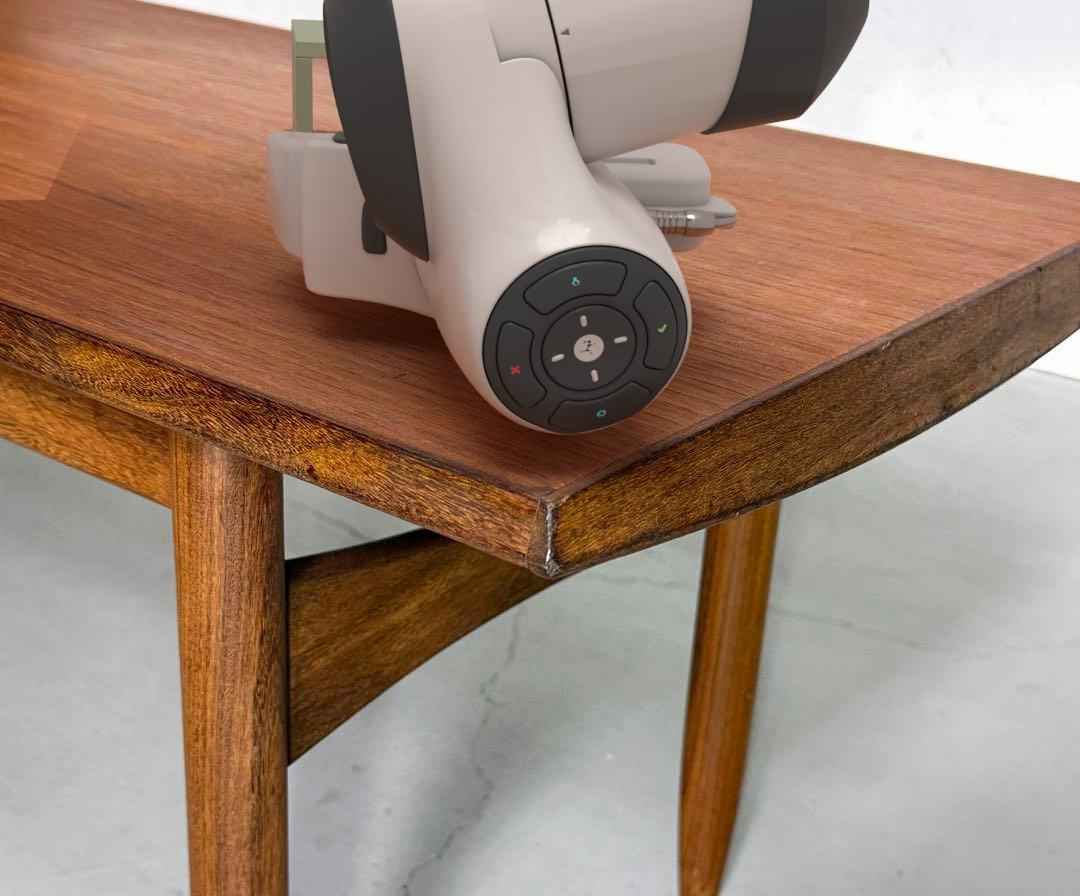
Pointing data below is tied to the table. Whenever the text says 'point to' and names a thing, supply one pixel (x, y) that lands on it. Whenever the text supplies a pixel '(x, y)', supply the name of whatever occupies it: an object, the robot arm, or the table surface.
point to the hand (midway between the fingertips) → (469, 152)
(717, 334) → the table surface
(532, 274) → the robot arm
